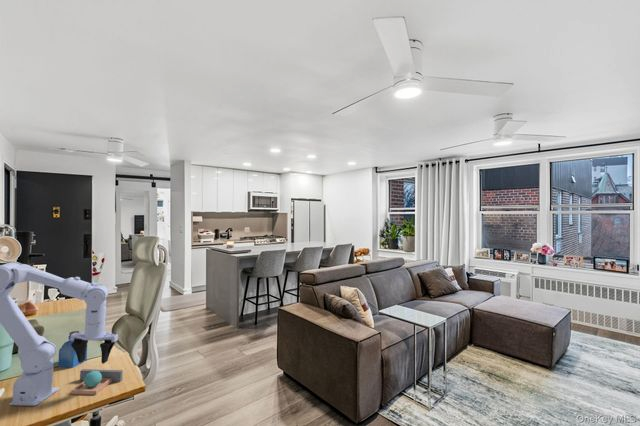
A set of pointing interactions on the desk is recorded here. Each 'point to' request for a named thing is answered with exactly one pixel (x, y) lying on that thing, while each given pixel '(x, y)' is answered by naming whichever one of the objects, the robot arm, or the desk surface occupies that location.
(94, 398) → the desk surface
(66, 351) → the perfume bottle
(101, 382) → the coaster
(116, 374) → the wall
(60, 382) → the desk surface
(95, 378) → the ball
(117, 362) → the desk surface
